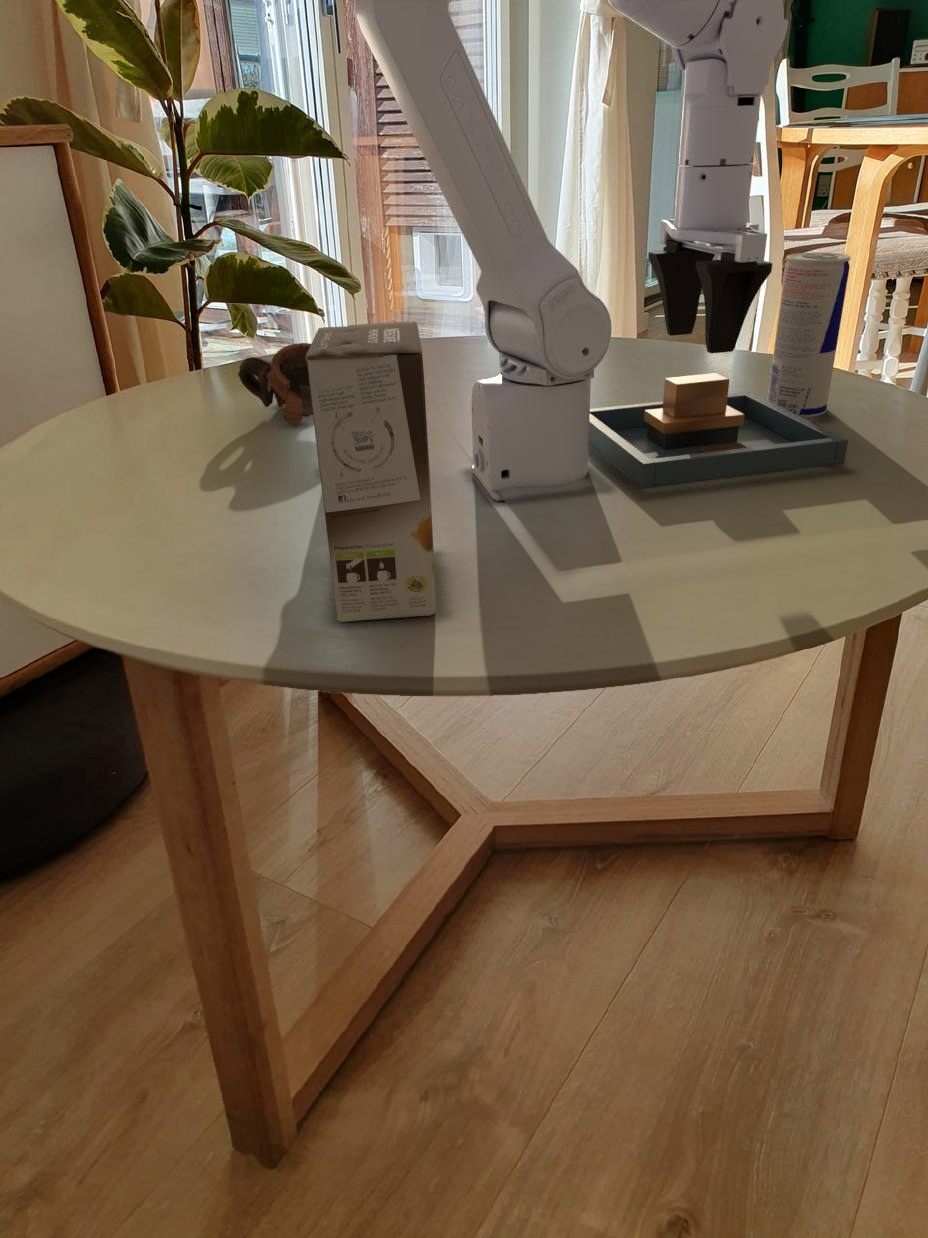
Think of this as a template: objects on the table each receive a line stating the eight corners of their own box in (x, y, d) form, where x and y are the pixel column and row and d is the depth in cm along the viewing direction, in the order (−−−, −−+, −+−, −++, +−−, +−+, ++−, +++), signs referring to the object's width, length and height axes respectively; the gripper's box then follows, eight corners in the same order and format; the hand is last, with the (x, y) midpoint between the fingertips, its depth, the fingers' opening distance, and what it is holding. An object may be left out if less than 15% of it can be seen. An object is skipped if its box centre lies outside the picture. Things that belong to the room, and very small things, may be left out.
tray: (641, 497, 70) (643, 463, 69) (574, 439, 84) (574, 410, 82) (843, 472, 73) (849, 439, 72) (746, 419, 87) (750, 391, 86)
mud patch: (718, 473, 72) (719, 462, 71) (696, 458, 75) (697, 447, 75) (762, 468, 72) (764, 456, 72) (738, 453, 76) (740, 442, 75)
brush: (662, 451, 77) (667, 388, 75) (642, 436, 81) (646, 376, 78) (741, 441, 79) (749, 380, 76) (718, 428, 82) (724, 368, 80)
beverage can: (829, 425, 84) (857, 258, 77) (768, 423, 86) (790, 259, 78) (820, 408, 89) (846, 250, 82) (763, 407, 90) (783, 251, 83)
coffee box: (440, 617, 54) (424, 350, 46) (335, 624, 54) (302, 357, 46) (432, 554, 62) (418, 318, 54) (341, 560, 62) (314, 324, 54)
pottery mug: (353, 402, 100) (359, 345, 93) (335, 462, 95) (339, 406, 88) (249, 377, 99) (246, 318, 92) (224, 436, 94) (220, 378, 87)
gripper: (813, 164, 63) (786, 356, 70) (718, 160, 76) (703, 323, 82) (724, 169, 62) (705, 363, 69) (642, 164, 75) (632, 329, 81)
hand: (698, 342), depth 76 cm, fingers open, 7 cm apart
